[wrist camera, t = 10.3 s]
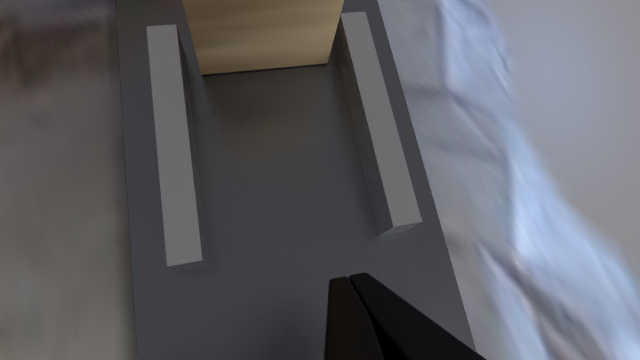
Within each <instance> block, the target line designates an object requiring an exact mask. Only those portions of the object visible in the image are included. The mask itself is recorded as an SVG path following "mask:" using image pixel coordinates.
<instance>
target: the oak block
mask: <svg viewBox="0 0 640 360" xmlns="http://www.w3.org/2000/svg"><path fill="white" fill-rule="evenodd" d="M182 1H183V5H184V9H185V13H186V17H187V21H188V25H189V29H190V33H191V37H192V40H193V44H194V48H195V52H196V56H197V60H198V64H199V68H200V72H201V75H204V74H215V73H226V72H237V71H248V70H259V69H270V68H281V67H292V66H303V65H314V64H325V63H328V59H329V55H330V52H331V48H332V44H333V40H334V37H335V33H336V29H337V25H338V22H339V18H340V14H341V10H342V6H343V3H344V0H182Z"/></svg>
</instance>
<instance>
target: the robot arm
mask: <svg viewBox="0 0 640 360" xmlns="http://www.w3.org/2000/svg"><path fill="white" fill-rule="evenodd" d="M323 360H487V359H485V358H484V357H482V356H481V355H480V354H478V353H477V352H476V351H474V350H473V349H471V348H470V347H469V346H467V345H466V344H465V343H463V342H462V341H460V340H459V339H458V338H456V337H455V336H454V335H452V334H451V333H450V332H448V331H447V330H445V329H444V328H443V327H441V326H440V325H439V324H437V323H436V322H434V321H433V320H432V319H430V318H429V317H428V316H426V315H425V314H424V313H422V312H421V311H419V310H418V309H417V308H415V307H414V306H413V305H411V304H410V303H408V302H407V301H406V300H404V299H403V298H402V297H400V296H399V295H397V294H396V293H395V292H393V291H392V290H391V289H389V288H388V287H387V286H385V285H384V284H382V283H381V282H380V281H378V280H377V279H376V278H374V277H373V276H371V275H370V274H369V273H366V272H363V273H358V274H353V275H350V276H349V277H346V276H343V277H338V278H333V279H330V281H329V288H328V302H327V316H326V331H325V345H324V359H323Z"/></svg>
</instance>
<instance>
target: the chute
mask: <svg viewBox="0 0 640 360" xmlns="http://www.w3.org/2000/svg"><path fill="white" fill-rule="evenodd" d="M115 3H116V19H117V35H118V51H119V67H120V83H121V99H122V116H123V132H124V148H125V164H126V180H127V196H128V212H129V228H130V245H131V261H132V277H133V293H134V309H135V325H136V341H137V357H138V360H323V359H324V345H325V331H326V316H327V302H328V288H329V281H330V279H333V278H338V277H343V276H346V277H349V276H350V275H353V274H358V273H363V272H366V273H369V274H370V275H371V276H373V277H374V278H376V279H377V280H378V281H380V282H381V283H382V284H384V285H385V286H387V287H388V288H389V289H391V290H392V291H393V292H395V293H396V294H397V295H399V296H400V297H402V298H403V299H404V300H406V301H407V302H408V303H410V304H411V305H413V306H414V307H415V308H417V309H418V310H419V311H421V312H422V313H424V314H425V315H426V316H428V317H429V318H430V319H432V320H433V321H434V322H436V323H437V324H439V325H440V326H441V327H443V328H444V329H445V330H447V331H448V332H450V333H451V334H452V335H454V336H455V337H456V338H458V339H459V340H460V341H462V342H463V343H465V344H466V345H467V346H469V347H470V348H471V349H473V350H474V351H476V349H475V345H474V341H473V338H472V334H471V331H470V327H469V324H468V320H467V317H466V313H465V310H464V306H463V303H462V299H461V295H460V292H459V288H458V285H457V281H456V278H455V274H454V271H453V267H452V264H451V260H450V257H449V253H448V250H447V246H446V242H445V239H444V235H443V232H442V228H441V225H440V221H439V218H438V214H437V211H436V207H435V204H434V200H433V196H432V193H431V189H430V186H429V182H428V179H427V175H426V172H425V168H424V165H423V161H422V158H421V154H420V150H419V147H418V143H417V140H416V136H415V133H414V129H413V126H412V122H411V119H410V115H409V112H408V108H407V105H406V101H405V97H404V94H403V90H402V87H401V83H400V80H399V76H398V73H397V69H396V66H395V62H394V59H393V55H392V51H391V48H390V44H389V41H388V37H387V34H386V30H385V27H384V23H383V20H382V16H381V13H380V9H379V5H378V2H377V0H344V3H343V6H342V10H341V14H340V18H339V22H338V25H337V29H336V33H335V37H334V40H333V44H332V48H331V52H330V55H329V59H328V63H325V64H314V65H303V66H292V67H281V68H270V69H259V70H248V71H237V72H226V73H215V74H204V75H201V72H200V68H199V64H198V60H197V56H196V52H195V48H194V44H193V40H192V37H191V33H190V29H189V25H188V21H187V17H186V13H185V9H184V5H183V1H182V0H115Z"/></svg>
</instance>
